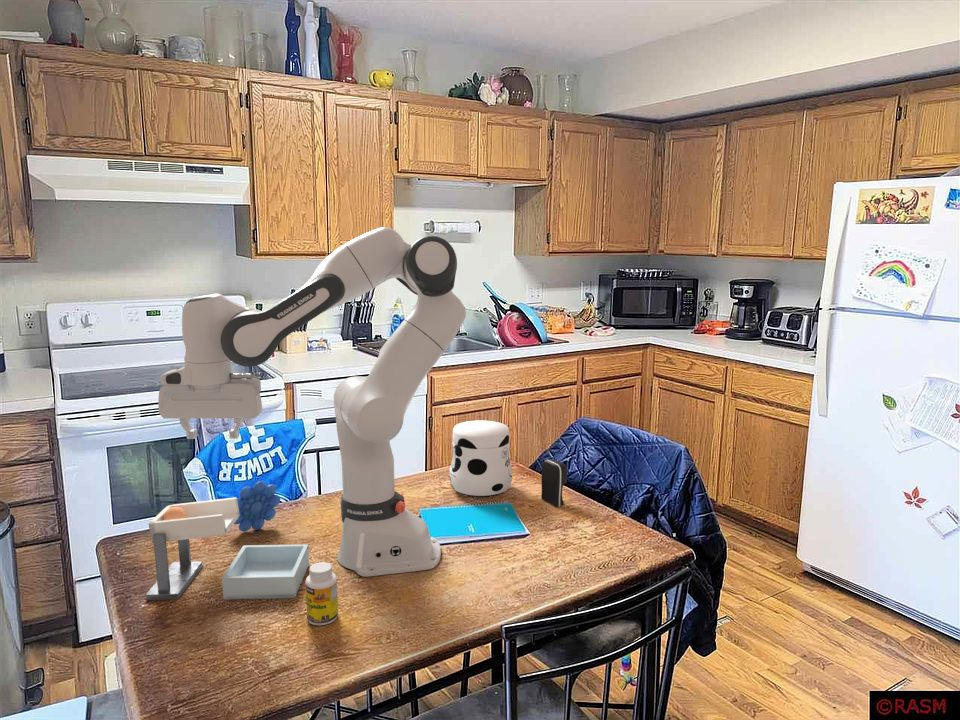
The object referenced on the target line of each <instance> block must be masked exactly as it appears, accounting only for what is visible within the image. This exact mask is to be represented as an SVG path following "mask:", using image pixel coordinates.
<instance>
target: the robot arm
mask: <svg viewBox="0 0 960 720" xmlns="http://www.w3.org/2000/svg"><path fill="white" fill-rule="evenodd" d="M457 269H458V258H457V254H456V251H455V250H454V247H453V246H452V244H451V243H450V242H448V241H447V240H446V239H444V238H442V237H439V236H436V235H426V236H422V237H420V238H417V240H415V241H414V242H412V243H411V244H409V243H407V242H406V241H405V240H404V238H403V237H402V236H401V235H400V233H398V232H397V231H396V230H394V229H393V228H391V227H388V226H382V227H378V228H375V229H372V230H370V231H368V232H365V233H363V234H361V235H359V236H357V237H355V238H353V239H351V240H350V241H347V242H346V243H344V244H342V245H341V246H339V247H337V248H336V249H335V250H334V251H332V252H331V253H330V254H329V255H327V256H326V257H325V258H324V259H323V260H322V261H321V262H319V264H318V265H317V266H316V268H315V270H314V272H313V274H311V276H310V278H309V279H308V280H307V281H306V282H305V284H303V285H302V286H301V287H300V288H299V289H297V290H296V291H294V292H292V293H290V294H289V295H288V296H286V297H285V298H283V299H282V300H280V301H278V302H277V303H276V304H274V305H272V306H271V307H269V308H268V309H267V308H266V309H265V310H260V309H255V308H251V307H249V306H245V305H242V304H239V303H237V302H234V301H232V300H231V299H228V298H227V297H226V296H224V295H223V294H221V293H208V294H202V295H198V296H194V297H191V298H190V299H188V300H187V301H186V302H185V303H184V305H183V308H182V313H181V315H182V316H181V330H182V331H181V332H182V341H183V343H184V347H185V354H184V359H183V360H184V365H183V366H179V367H177V368H173V369H171V370H169V371H166V372H165V373H163V374H161V376H160V383H161V385H162V386H161V387H160V388H159V391H158V397H157V398H158V404H157V405H158V414H159V416H161V418H162V419H167V420H168V419H169V420H170V419H172V420H173V419H179V425H180V426H181V427H182V429H183V430H184V431H185V432H186V439H187V440H195V439H196V438H197V437H198V433H197V432H198V431H197V428H193V427H192V425H191V424H190V421H191V420H192V419H233V423H234V424H236V425H235V426H234V428H231V429H230V430H228V432H229V439H232V440H235V439H236V440H237V439H238V438H240V428H241V426H242V425H243V423H244V421H245V419H256V418H258V417H259V416H260V415H261V413H262V412H263V402H262V396H261V391H262V382H261V380H260V379H261V378H259V377H258V376H256V375H254V373H249V372H247V373H240V372H239V373H237V372H235V373H234V372H233V371H232V363H233V364H236V365H239V366H240V367H247V368H249V367H257V366H260V365H262V364H264V363H266V362H267V361H268V360H269V359H271V357H272V355H273V354H274V353H275V351H276V350H277V348H278V346H279V345H280V343H282V341H283V340H284V339H285V338H286V337H288V336H290V335H291V334H292V333H294V332H295V331H296V330H298V329H300V328H301V327H303V326H304V325H305V324H307V323H309V322H310V321H312V320H313V319H315V318H317V317H318V316H320V315H321V314H323V313H324V312H326V311H329V310H331V309H333V308H336V307H339V306H342V305H343V304H344V305H345V304H346V303H348V302H351V301H353V300H355V299H357V298H359V297H361V296H363V295H365V294H367V293H369V292H371V291H372V290H373V289H375V288H377V287H379V285H381V284H383V283H385V282H387V281H389V280H391V279H396V280H397V281H398V282H399V283H400V284H402V285H403V286H404V287H406V289H408V290H409V291H410V292H411V293H413V294H414V295H417V300H416V303H415V305H414V306H413V308H412V309H411V311H410V312H409V313H408V314H407V315H406V317H405V318H404V319H403V320H402V322H401V323H400V324H399V325H398V326H397V328H396V329H395V330H394V331H393V332H392V334H391V335H390V337H389V338H388V339H387V340H386V341H385V343H384V344H383V345H382V346H381V348H380V349H379V353H378V356H377V359H376V361H375V363H374V365H373V366H372V369H371V370H370V372H369V374H368V376H367V377H366V376H359V375H358V376H350V377H346V378H345V379H343V380H341V381H340V382H339V384H338V385H337V386H336V388H335V389H334V394H333V405H334V413H335V423H336V424H335V425H336V430H337V431H336V432H337V433H336V434H337V438H338V439H337V440H338V446H339V452H340V461H341V477H342V478H341V480H342V481H341V482H342V494H341V497H340V517H341V522H342V531H341V539H340V545H339V550H338V554H337V555H336V556H337V561H338V563H339V564H340V565H341V566H343V567H344V568H346V569H349V570H352V571H354V572H356V573H357V575H359V576H361V577H364V578H365V577H375V576H383V575H392V574H401V573H408V572H409V573H412V572H418V571H419V572H420V571H427V570H432V569H433V568H435V567H437V565H438V564H439V563H440V560H441V558H442V557H441V554H442V550H441V549H442V548H441V544H440V542H439V541H438V539H436V538H435V537H434V536H431V535H430V530H429V527H428V525H427V522H426V521H425V520H424V519H423V518H421V517H419V515H416V514H414V513H413V512H412V511H410V510H409V509H407V508H406V503H405V497H404V493H403V491H401V494H400V493H399V492H397V491H396V490H395V487H396V486H395V458H394V454H393V451H392V446H391V442H390V441H392V440H393V439H395V437H396V436H397V435H398V434H399V433H400V431H401V430H402V428H403V425H404V420H405V419H404V418H405V414H406V412H407V410H408V409H409V407H410V404H411V402H412V400H413V399H414V396H415V395H416V392H417V390H418V388H419V386H420V385H421V383H422V382H423V380H424V379H425V378H426V376H427V375H428V373H429V372H430V371H431V370H432V368H434V365H435V364H436V363H438V361H439V359H440V358H441V357H442V355H443V354H444V353H445V352H446V351H447V349H448V348H449V346H450V345H451V343H452V342H453V341H454V340H455V337H456V336H457V334H458V333H459V331H460V329H461V327H462V325H463V324H464V321H465V319H466V315H467V314H466V313H467V311H466V308H465V306H464V303H463V302H462V301H461V299H460V298H459V297H458V296H457V295H456V294H455V293H453V291H452V290H453V289H454V287H455V283H456V275H457Z"/></svg>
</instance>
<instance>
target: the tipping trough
mask: <svg viewBox="0 0 960 720" xmlns="http://www.w3.org/2000/svg"><path fill="white" fill-rule="evenodd" d="M237 499H238V498H237V497H229V498H228V497H227V498H217V499H211V500H200V501H193V502H184V503H183V502H182V503H175V504H174V503H173V504H168V505H166V506H165V507H164V508H163V509H162V510H161V511H160V512H159V513H158V514H156V516H155V517H154V518H153V519H152V520H151V521H149V523H148V527H149V528H148V529H149V533H150V538H151V543H152V544H154V542H153V535H154V534H155V533H165V534H166V543H167V542H175V541H178V540H185V539H189V540H191V539H192V540H193V539H200V538H201V539H202V538H209V537H219V536H226V535H227V534H228V532H229V531H230V529H231V528H232V527H233V526H234V523H235V521H236V520H237V519H238V517H239V516H240V513H239V508H238V502H237ZM172 507H180V508H182V509H183V510H184V512H185V514H186V518H182V519H173V520H164V514H165V512H166V511H167V510H168V509H170V508H172Z"/></svg>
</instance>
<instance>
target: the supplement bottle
mask: <svg viewBox="0 0 960 720" xmlns="http://www.w3.org/2000/svg"><path fill="white" fill-rule="evenodd" d="M308 569H309V575H308V576H307V577H305V578H306V579H305V601H306V619H307V621H308V622H309V624H312V625H313V626H326V625H329V624H331V623H333V622H335V620H336V619H337V618H338V617H339V616H338V615H339V608H338V607H339V604H338V578H337V575H336V574H335V572H333V566H332V564H331V563H329V562H325V561H322V562H316V563H313V564H312V565H311V566H310V567H309V568H308Z"/></svg>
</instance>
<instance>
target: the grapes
mask: <svg viewBox="0 0 960 720" xmlns="http://www.w3.org/2000/svg"><path fill="white" fill-rule="evenodd" d="M276 493H277V486H276V485H275V484H273V483H272V484H268V485H267V484H266V482H265V481H264V480H259V481H256V482H255V483H254V484H253V487H251V486H249V485H248V486H244V487H243V488H242V489H241V490H240V492H239V498H237V502H238V508H239V513H240V516H239V517H238V519H237V520H236V521H235V523H234V524H233V526H234V525H238V529H239V531H240V532H243V533H244V532H247V531H249V530H250V529H251V528H252V529H253V530H254V531H258V530H260V529H262V528H263V527H264V525H265V523H266V522H265V521H271V520H273V519H274V518H275V516H276V514H277V512H276V511H277V510H276V507H278V506H279V505H280V503H281V497H280V495H278V494H276Z"/></svg>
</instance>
